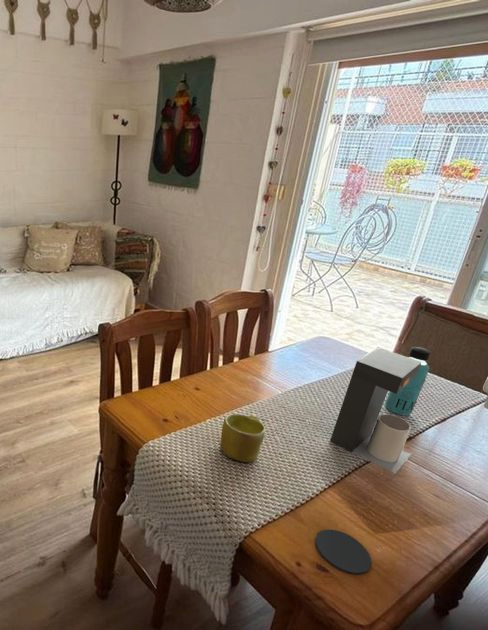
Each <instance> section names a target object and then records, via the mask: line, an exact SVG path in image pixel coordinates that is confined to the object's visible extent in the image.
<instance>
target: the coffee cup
mask: <svg viewBox="0 0 488 630" xmlns="http://www.w3.org/2000/svg"><path fill="white" fill-rule="evenodd" d="M411 431H412V425H411V423H409V422H408V421H406V420H405V419H404V418H402V417H399V416H397V415H394V414H391V413H382V414H381V413H380V414H379V416H378V418H377V421H376V423H375V426H374V429H373V431H372V434H371V437H370V440H369V442H368V445H367V450H368V452H369V453H370V454H371V455H373V456H374V457H376V458H378V459H380V460H383V461H386V462H396V461H397V460H398V459H399V457H400V454H401V452H402V450H404V447H405V445H406V442H407V440H408V438H409V435H410V433H411Z"/></svg>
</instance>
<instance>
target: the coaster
mask: <svg viewBox="0 0 488 630" xmlns="http://www.w3.org/2000/svg"><path fill="white" fill-rule="evenodd" d="M314 541H315V542H314V544H315V547H316V550H317V551H318V553H319V554H320V556H321V557H322V558H323V559H324V561H326V562H327V563H328V564H329V565H330V566H331V567H333V568H334V569H337V570H339V571H341V572H343V573H347V574H350V575H363V574H366V573H368V571H370V569H371V566H372V558H371V556H370V553H369V551H368V549H367V548H366V547H365V546H364V545H363V544H362V543H361V542H360V541H359V540H357V538H354V537H353V536H352V535H350V534H348V533H345V532H343V531H340V530H337V529H330V528H329V529H328V528H327V529H323V530H321V531H319V532H318V533H317V534H316V535H315V540H314Z"/></svg>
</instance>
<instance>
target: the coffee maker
mask: <svg viewBox="0 0 488 630" xmlns="http://www.w3.org/2000/svg"><path fill="white" fill-rule="evenodd" d="M421 363H422V362H420V361H417V360H414V359H411V358H409V357H408V356H405V355H403V354H400V353H397V352H394V351H392V350H388V349H385V348H382V347H379V346H377V347H376V348H374V349H372V350H371V351H369V352H368V353H366V354H365V355H364V356H362V357H361V358H359V359H357V361H356V362H355V365H354V368H353V371H352V373H351V377H350V380H349V383H348V386H347V389H346V392H345V395H344V398H343V401H342V404H341V407H340V410H339V413H338V415H337V419H336V422H335V424H334V428H333V431H332V433H331V436H330V440H329V442H330V443H332V444H334V445H335V446H338V447H340V448H342V449H344V450H345V451H348V452H349V453H354V454H356V455H358V456H359V457H362V458H364V459H365V460H367V461H369V462H371V463H373V464H375V465H377V466H378V467H381V468H383V469H384V470H386V471H389V472H390V473H392V474H394V475H396V474H397V473H398V471H399V470H401V468H402V467H403V466H404V465H405V463H406V462H407V461H408V460H409V459H410V458H411V457H412V455H413V454H412V453H410V452H409V451H406V450H404V449H403V450H402V452H401V454H400V457H399V459H398V460H397V461H396V462H386V461H383V460H380V459H378V458H376V457H374V456H373V455H371V454H370V453H369V452H368V450H367V445H368V442H369V440H370V437H371V435H372V432H373V429H374V427H375V424H376V422H377V419H378V416H379V415H380V414H381V411H382V408H383V405H384V402H385V400H386V398H387V396H388V393H389V392H393V393H395V394H397V393H398V392H399V391H401V390H402V389H403V388H404V387H405V386H406V385H407V384H409V383H410V382H411V381H412V380H413V379H414V378H415V377H416V376H417V373H418V371H419V368H420V366H421Z"/></svg>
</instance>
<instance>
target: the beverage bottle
mask: <svg viewBox="0 0 488 630" xmlns="http://www.w3.org/2000/svg"><path fill="white" fill-rule="evenodd" d="M430 354H431V352H430V351H429V350H428V349H427V348H424V347H420V346H412V347H411V348H410V351H409V352H408V355H409V357H408V358H411V359H414V360H417V361H420V362H422V363H421V366H420V368H419V371H418V373H417V376H416V377H415V378H414V379H413V380H412V381H411V382H410V383H409V384H407V385H406V386H405V387H404V388H403V389H402V390H401V391H399V392H398V393H397V394H395V393H393V392H390V391H388V393H387V396H386V399H385V400H384V402H385V403H384V406H385V408H386V409H387V410H389V411H391V412H392V413H394V414H397V415H401V416H409V415H411V413H413V411H414V409H415V406H416V405H417V402H418V398H419V397H420V393H421V391H422V389H423V387H424V385H425V383H426V379H427V377H428V373H429V371H430V369H431V368H430V366H429V363H427V362H426V361H428V360H429V359H430Z"/></svg>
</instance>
